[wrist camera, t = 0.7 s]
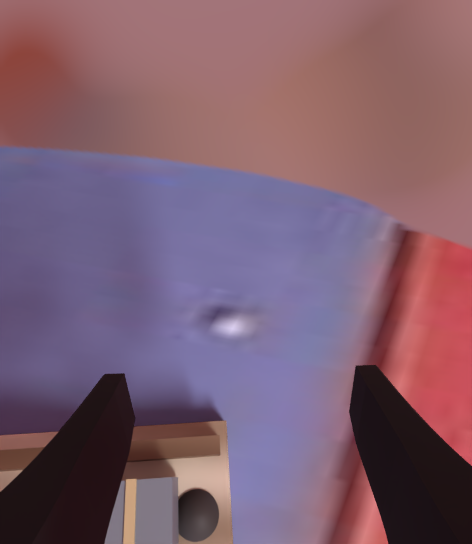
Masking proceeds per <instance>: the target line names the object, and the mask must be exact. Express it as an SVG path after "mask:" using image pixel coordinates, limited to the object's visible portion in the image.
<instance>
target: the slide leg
mask: <svg viewBox="0 0 472 544" xmlns="http://www.w3.org/2000/svg"><path fill="white" fill-rule="evenodd" d="M105 544H179V532H178V477H166V478H153V479H140V480H137V479H126V481H121V484H120V488H119V491H118V495H117V498H116V502H115V505H114V509H113V512H112V516H111V519H110V523H109V527H108V531H107V535H106V539H105Z"/></svg>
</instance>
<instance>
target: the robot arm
mask: <svg viewBox="0 0 472 544" xmlns="http://www.w3.org/2000/svg"><path fill="white" fill-rule="evenodd" d="M349 413H350V418H351V422H352V427H353V432H354V436H355V441H356V445H357V448H358V451H359V454H360V457H361V460H362V463H363V466H364V468H365V471H366V474H367V477H368V480H369V483H370V486H371V489H372V492H373V495H374V498H375V501H376V503H377V506H378V509H379V512H380V515H381V518H382V522H383V525H384V528H385V532H386V535H387V540H388V544H472V466H471V465H470V464H469V463H468V462H466V461H465V460H464V459H463V458H462V457H461V456H460V455H459V454H458V453H457V452H456V451H454V450H453V449H452V448H451V447H450V446H449V445H448V444H447V443H446V442H445V441H444V440H443V439H442V438H441V437H440V436H439V435H438V434H437V433H436V432H435V431H434V430H433V429H432V428H431V427H430V426H429V425H428V424H427V423H426V422H425V421H424V420H423V418H422V417H421V416H420V415H419V414H418V413H417V412H416V411H415V410H414V409H413V408H412V407H411V405H410V404H409V403H408V402H407V401H406V400H405V399H404V398H403V396H402V395H401V394H400V393H399V392H398V391H397V389H396V388H395V387H394V386H393V385H392V383H391V382H390V381H389V380H388V379H387V377H386V376H385V375H384V374H383V373H382V371H381V370H380V369H379V368H378V367H377V366H376V365H363V366H356V368H355V375H354V382H353V389H352V396H351V403H350V410H349ZM134 422H135V416H134V412H133V408H132V404H131V399H130V395H129V391H128V387H127V383H126V379H125V374H105V375H104V376H103V377H102V378H101V379H100V380H99V382H98V383H97V384H96V386H95V387H94V388H93V390H92V391H91V392H90V393H89V395H88V396H87V397H86V399H85V400H84V401H83V402H82V404H81V405H80V406H79V407H78V409H77V410H76V411H75V412H74V414H73V415H72V416H71V417H70V419H69V420H68V421H67V422H66V423H65V425H64V426H63V427H62V428H61V429H60V431H59V432H58V433H57V434H56V435H55V436H54V437H53V439H52V440H51V441H50V442H49V443H48V444H47V445H46V446H45V447H44V448H43V450H42V451H41V452H40V453H39V454H38V455H37V456H36V457H35V458H34V459H33V460H32V461H31V462H30V464H29V465H28V466H27V467H26V468H25V469H24V470H23V471H22V472H21V473H20V474H19V475H18V476H17V477H15V478H14V479H13V480H12V481H11V482H10V483H9V484H8V485H7V486H6V487H5V488H4V489H3V490H2V491H1V492H0V544H105V539H106V535H107V531H108V527H109V523H110V519H111V516H112V512H113V509H114V505H115V502H116V498H117V495H118V491H119V488H120V484H121V481H122V477H123V474H124V470H125V467H126V463H127V459H128V456H129V452H130V447H131V441H132V435H133V429H134Z"/></svg>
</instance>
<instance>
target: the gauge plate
mask: <svg viewBox="0 0 472 544" xmlns="http://www.w3.org/2000/svg"><path fill="white" fill-rule="evenodd" d="M57 433H58V432H44V433H29V434H14V435H0V492H1V491H2V490H3V489H4V488H5V487H6V486H7V485H8V484H9V483H10V482H11V481H12V480H13V479H14V478H15V477H17V476H18V475H19V474H20V473H21V472H22V471H23V470H24V469H25V468H26V467H27V466H28V465H29V464H30V462H31V461H32V460H33V459H34V458H35V457H36V456H37V455H38V454H39V453H40V452H41V451H42V450H43V448H44V447H45V446H46V445H47V444H48V443H49V442H50V441H51V440H52V439H53V437H54V436H55V435H56V434H57ZM166 477H178V532H179V544H233V535H232V517H231V499H230V480H229V462H228V444H227V426H226V421H211V422H196V423H181V424H165V425H150V426H135V427H134V429H133V435H132V441H131V447H130V452H129V456H128V459H127V463H126V467H125V470H124V474H123V477H122V481H126V479H137V480H140V479H153V478H166Z"/></svg>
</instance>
